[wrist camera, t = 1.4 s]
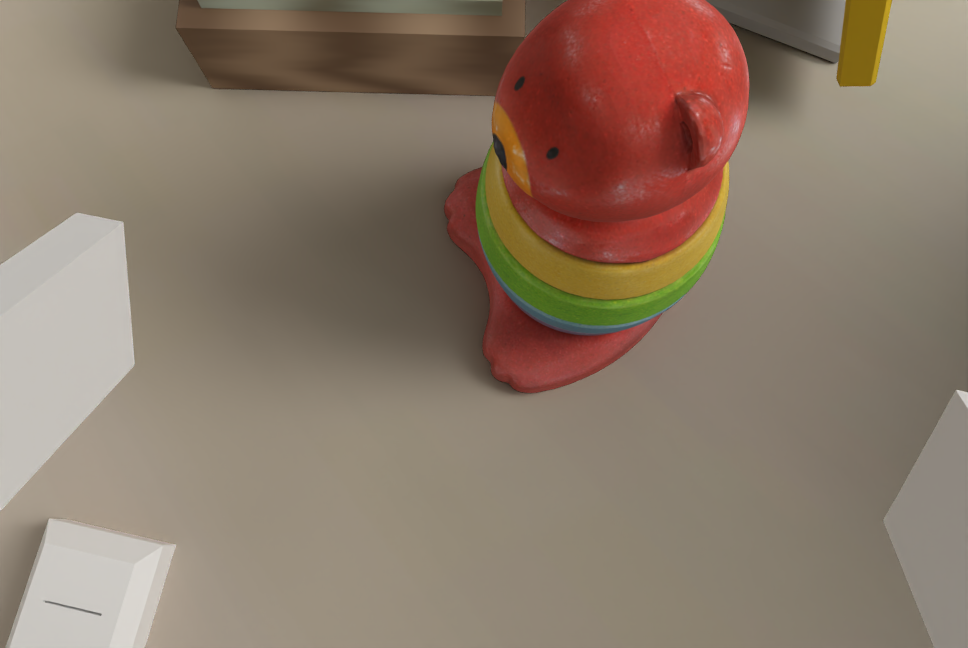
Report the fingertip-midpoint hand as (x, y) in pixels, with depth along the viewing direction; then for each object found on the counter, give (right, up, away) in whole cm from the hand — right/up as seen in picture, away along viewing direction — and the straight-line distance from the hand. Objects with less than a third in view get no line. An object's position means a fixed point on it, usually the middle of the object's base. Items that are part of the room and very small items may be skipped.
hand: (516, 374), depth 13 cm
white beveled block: (-17, -12, +21) cm, 30 cm away
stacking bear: (+3, +4, +25) cm, 26 cm away
